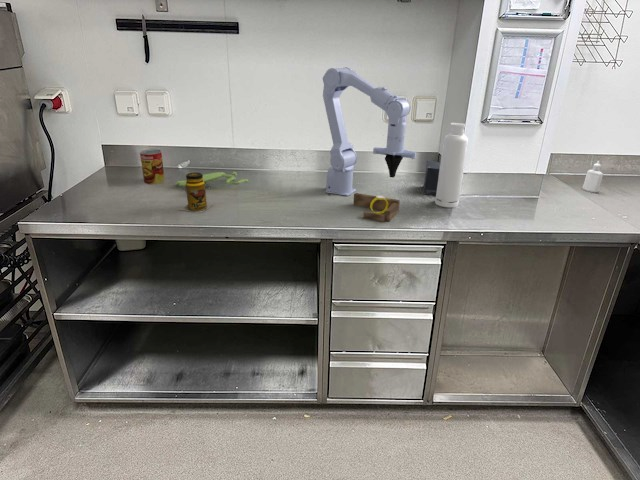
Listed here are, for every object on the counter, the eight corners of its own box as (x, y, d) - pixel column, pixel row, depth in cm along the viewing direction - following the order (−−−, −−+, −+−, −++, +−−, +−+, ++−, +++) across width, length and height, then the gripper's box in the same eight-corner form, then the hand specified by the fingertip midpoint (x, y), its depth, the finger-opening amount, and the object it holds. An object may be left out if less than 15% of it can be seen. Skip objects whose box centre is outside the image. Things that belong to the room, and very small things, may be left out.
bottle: (437, 198, 163) (448, 121, 151) (460, 202, 159) (472, 123, 148) (432, 205, 156) (443, 124, 144) (455, 208, 153) (468, 127, 141)
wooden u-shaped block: (342, 214, 146) (342, 202, 145) (354, 203, 156) (355, 192, 154) (388, 222, 140) (389, 210, 138) (398, 211, 150) (399, 200, 148)
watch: (385, 212, 150) (387, 195, 147) (387, 215, 147) (390, 198, 145) (368, 211, 148) (370, 195, 146) (370, 214, 146) (373, 197, 143)
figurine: (250, 193, 165) (249, 179, 162) (175, 199, 157) (174, 184, 155) (243, 179, 181) (242, 166, 178) (175, 184, 173) (173, 170, 171)
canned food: (140, 181, 174) (135, 151, 169) (157, 177, 180) (152, 148, 175) (152, 185, 170) (148, 155, 165) (169, 181, 176) (165, 151, 171)
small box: (440, 196, 165) (444, 168, 161) (423, 194, 167) (426, 167, 162) (439, 187, 175) (443, 161, 170) (423, 186, 176) (426, 160, 172)
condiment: (201, 213, 144) (197, 178, 140) (178, 210, 147) (174, 175, 142) (212, 206, 151) (209, 172, 146) (190, 203, 153) (187, 169, 148)
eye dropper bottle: (588, 192, 172) (596, 162, 167) (580, 188, 177) (589, 159, 172) (599, 193, 172) (608, 163, 167) (591, 188, 177) (600, 159, 172)
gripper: (371, 136, 146) (368, 176, 152) (414, 141, 141) (409, 182, 146) (378, 133, 152) (375, 171, 158) (419, 137, 146) (415, 177, 152)
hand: (392, 176), depth 152 cm, fingers closed
